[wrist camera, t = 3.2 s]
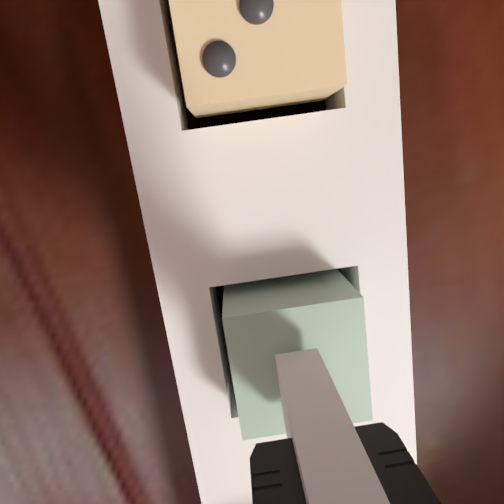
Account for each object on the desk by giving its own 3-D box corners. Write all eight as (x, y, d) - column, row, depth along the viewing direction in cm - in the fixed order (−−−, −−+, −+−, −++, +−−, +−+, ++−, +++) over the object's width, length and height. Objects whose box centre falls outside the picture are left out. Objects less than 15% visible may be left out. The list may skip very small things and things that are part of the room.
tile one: (224, 285, 17) (221, 319, 14) (336, 269, 17) (364, 298, 14) (240, 386, 19) (242, 442, 15) (346, 370, 19) (373, 422, 15)
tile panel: (102, -72, 15) (72, -126, 12) (358, -106, 16) (387, -167, 13) (233, 596, 23) (233, 659, 20) (400, 569, 24) (424, 628, 21)
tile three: (173, -25, 15) (154, -85, 11) (308, -43, 15) (333, -108, 11) (196, 118, 16) (186, 106, 12) (321, 100, 16) (348, 84, 12)
